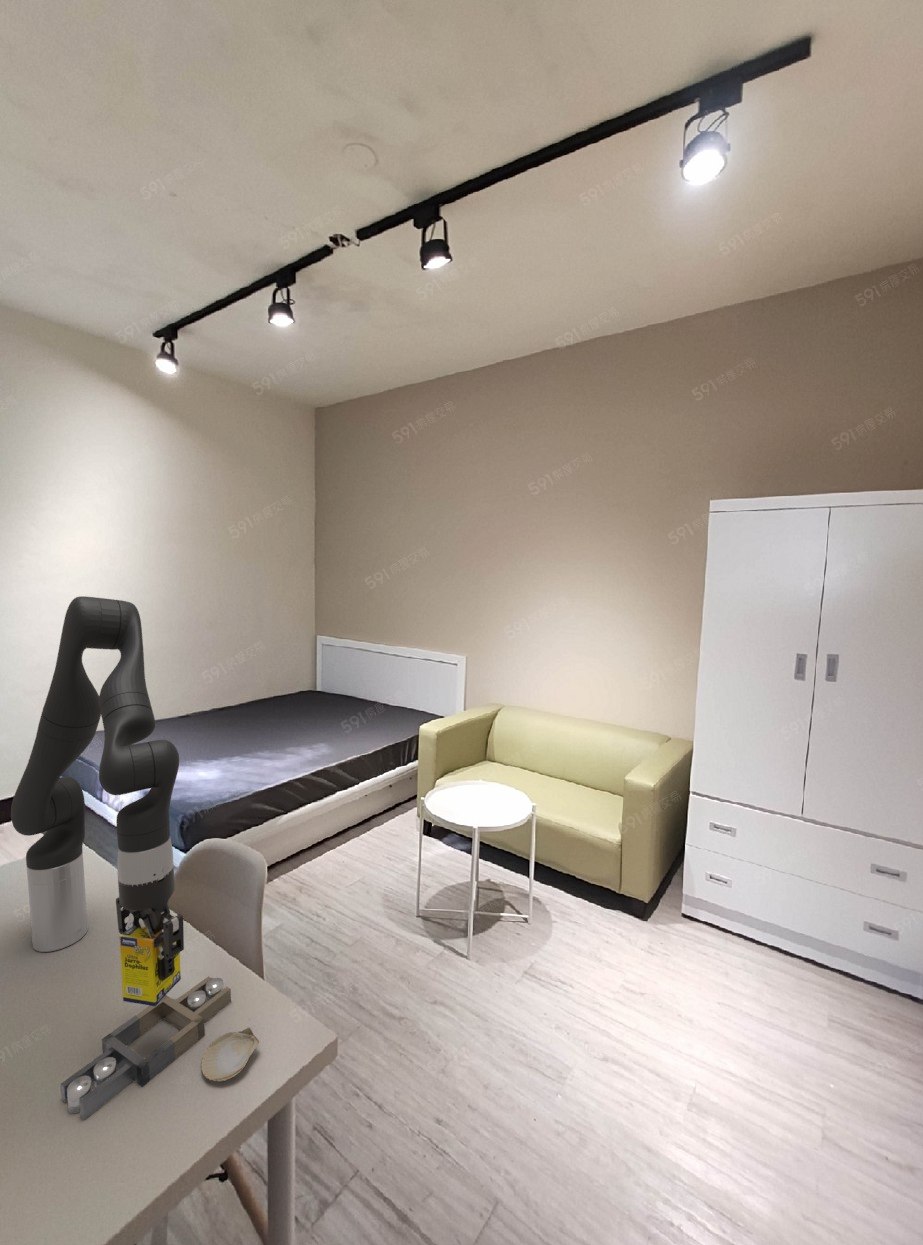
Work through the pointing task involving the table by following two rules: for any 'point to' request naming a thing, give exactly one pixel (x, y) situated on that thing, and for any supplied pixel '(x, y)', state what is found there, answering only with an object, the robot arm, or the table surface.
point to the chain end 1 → (114, 1070)
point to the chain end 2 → (188, 1012)
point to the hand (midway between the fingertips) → (152, 967)
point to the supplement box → (144, 968)
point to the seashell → (228, 1055)
